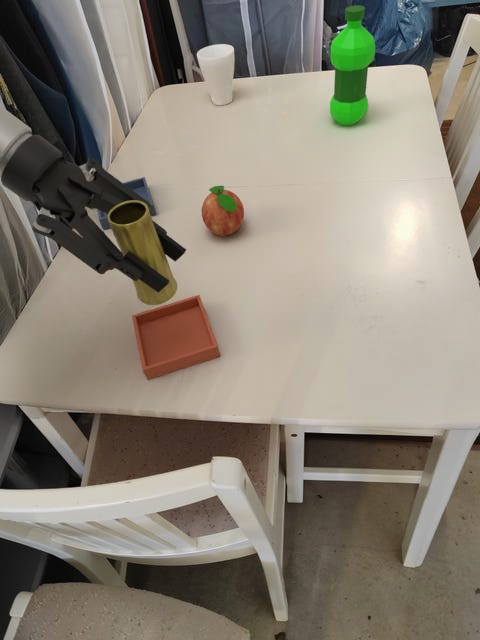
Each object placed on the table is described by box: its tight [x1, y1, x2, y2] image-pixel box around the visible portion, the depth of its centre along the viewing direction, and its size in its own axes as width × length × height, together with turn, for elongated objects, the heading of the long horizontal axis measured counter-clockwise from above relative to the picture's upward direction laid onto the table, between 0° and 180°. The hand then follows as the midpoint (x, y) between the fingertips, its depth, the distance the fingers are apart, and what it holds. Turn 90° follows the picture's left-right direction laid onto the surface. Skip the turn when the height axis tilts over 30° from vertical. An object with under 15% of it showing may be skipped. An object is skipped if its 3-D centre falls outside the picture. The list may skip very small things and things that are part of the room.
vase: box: [108, 200, 178, 306], centre depth 61 cm, size 6×6×14 cm
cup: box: [196, 43, 236, 106], centre depth 127 cm, size 10×10×14 cm
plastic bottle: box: [329, 5, 376, 127], centre depth 106 cm, size 10×10×25 cm
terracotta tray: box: [131, 294, 221, 380], centre depth 74 cm, size 12×12×3 cm
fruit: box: [201, 185, 245, 237], centre depth 89 cm, size 9×10×10 cm
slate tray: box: [96, 176, 157, 231], centre depth 101 cm, size 12×12×3 cm
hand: (172, 270), depth 61 cm, fingers closed on vase, 5 cm apart
